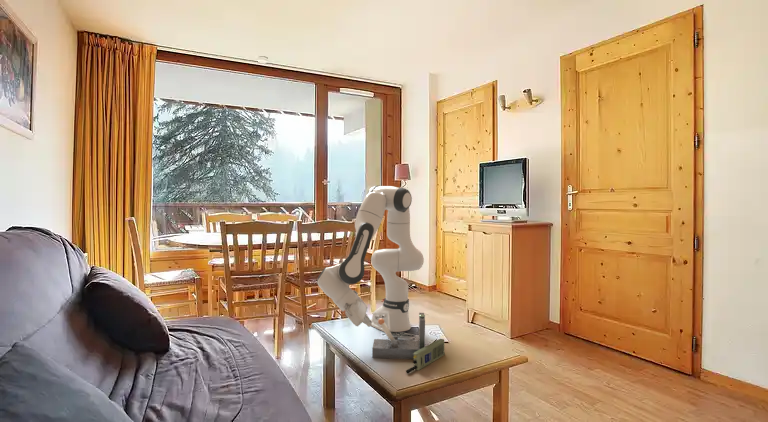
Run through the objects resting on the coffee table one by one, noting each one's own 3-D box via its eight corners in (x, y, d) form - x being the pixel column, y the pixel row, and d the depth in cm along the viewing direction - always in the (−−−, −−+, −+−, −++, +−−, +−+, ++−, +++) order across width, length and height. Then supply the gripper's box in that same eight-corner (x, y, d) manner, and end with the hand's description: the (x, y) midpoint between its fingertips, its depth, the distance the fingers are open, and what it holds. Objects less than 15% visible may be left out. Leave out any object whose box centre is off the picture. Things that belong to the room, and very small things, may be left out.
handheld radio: (446, 355, 167) (411, 376, 148) (439, 353, 169) (403, 374, 150) (445, 339, 167) (410, 358, 148) (438, 338, 169) (403, 356, 150)
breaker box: (372, 357, 164) (372, 317, 163) (374, 348, 174) (374, 310, 173) (424, 359, 162) (425, 318, 162) (423, 349, 172) (424, 311, 172)
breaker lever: (391, 345, 167) (376, 321, 166) (391, 343, 169) (377, 319, 169) (396, 342, 166) (382, 318, 166) (397, 340, 169) (382, 316, 169)
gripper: (349, 302, 157) (374, 328, 157) (355, 289, 178) (377, 312, 178) (337, 313, 158) (362, 339, 158) (345, 299, 178) (367, 321, 178)
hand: (370, 324), depth 168 cm, fingers closed
